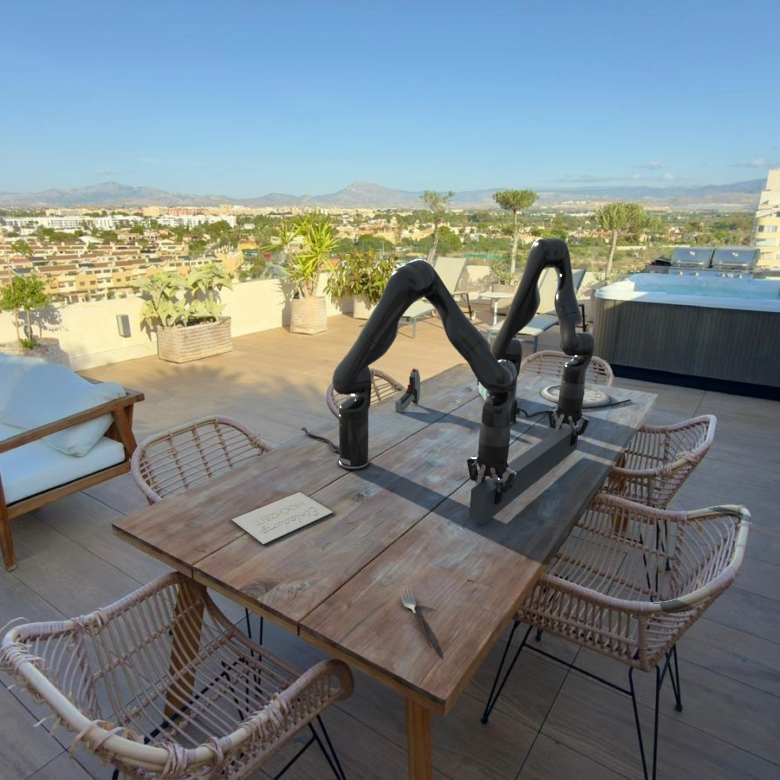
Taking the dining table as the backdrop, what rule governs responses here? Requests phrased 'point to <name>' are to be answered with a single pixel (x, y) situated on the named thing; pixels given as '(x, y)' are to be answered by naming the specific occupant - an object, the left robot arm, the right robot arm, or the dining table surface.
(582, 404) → the right robot arm
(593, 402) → the wall clock
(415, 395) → the toy gun
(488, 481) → the bar
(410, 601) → the fork
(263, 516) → the invitation card
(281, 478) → the dining table surface
